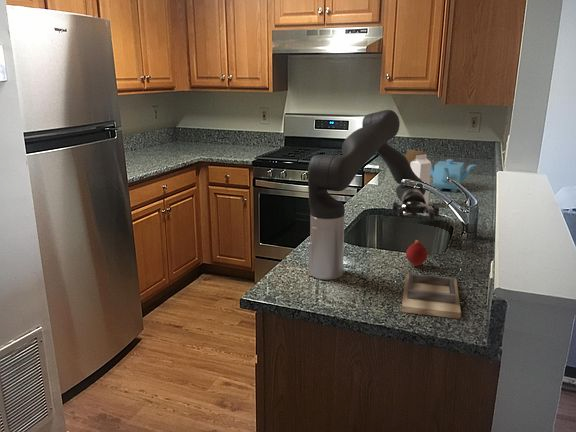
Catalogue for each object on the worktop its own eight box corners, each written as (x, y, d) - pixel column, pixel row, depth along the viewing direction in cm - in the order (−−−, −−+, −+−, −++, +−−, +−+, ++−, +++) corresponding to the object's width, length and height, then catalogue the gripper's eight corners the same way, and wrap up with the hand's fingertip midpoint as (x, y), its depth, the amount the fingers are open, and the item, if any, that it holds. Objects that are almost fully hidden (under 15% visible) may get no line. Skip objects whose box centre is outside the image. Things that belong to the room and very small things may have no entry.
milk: (407, 205, 205) (410, 154, 199) (418, 204, 208) (421, 153, 202) (418, 208, 200) (421, 156, 194) (428, 206, 203) (432, 155, 197)
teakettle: (451, 184, 246) (453, 155, 242) (476, 191, 229) (479, 161, 225) (419, 187, 240) (421, 158, 236) (443, 195, 223) (445, 163, 219)
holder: (401, 311, 112) (402, 298, 111) (405, 278, 130) (406, 266, 129) (460, 318, 109) (461, 304, 108) (455, 283, 127) (456, 271, 126)
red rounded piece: (422, 262, 142) (424, 236, 140) (429, 269, 136) (431, 243, 134) (403, 262, 142) (404, 237, 140) (408, 270, 136) (410, 243, 134)
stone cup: (424, 175, 270) (426, 148, 266) (426, 179, 258) (428, 151, 254) (396, 174, 272) (398, 148, 268) (397, 178, 261) (399, 151, 257)
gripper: (392, 190, 162) (393, 203, 147) (436, 191, 159) (441, 204, 144) (391, 211, 164) (392, 226, 149) (434, 213, 162) (439, 228, 146)
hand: (416, 215), depth 147 cm, fingers open, 8 cm apart
